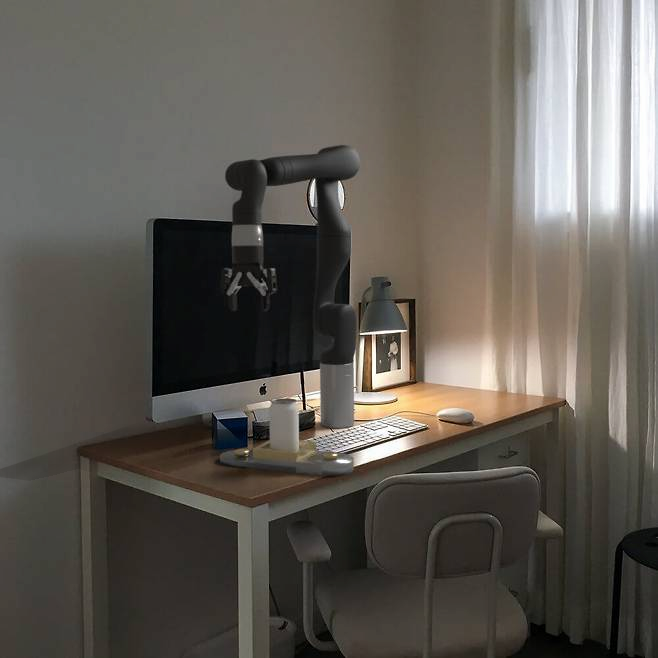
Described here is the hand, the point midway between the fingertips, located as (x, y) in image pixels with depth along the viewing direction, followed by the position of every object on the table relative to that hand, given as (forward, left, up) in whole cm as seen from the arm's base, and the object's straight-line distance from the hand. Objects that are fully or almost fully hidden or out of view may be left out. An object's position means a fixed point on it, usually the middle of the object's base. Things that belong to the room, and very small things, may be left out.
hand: (249, 311), depth 188 cm
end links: (+14, +16, -33) cm, 39 cm away
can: (+14, +16, -31) cm, 37 cm away
